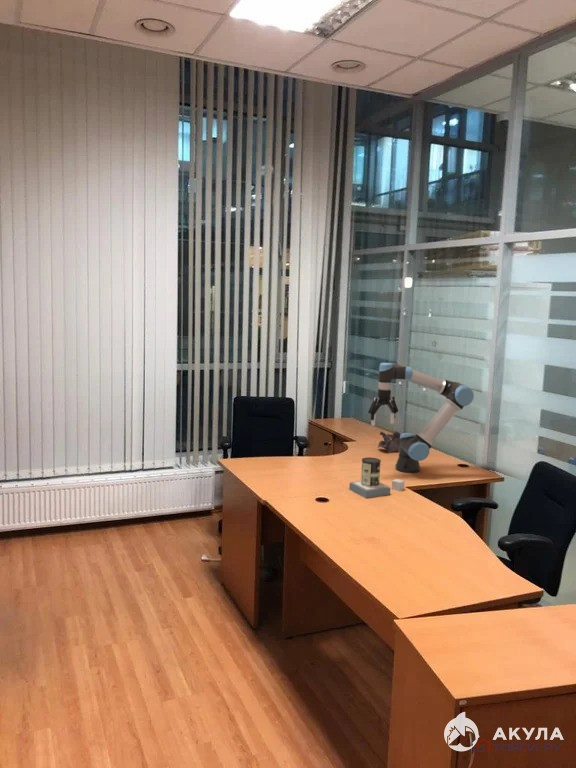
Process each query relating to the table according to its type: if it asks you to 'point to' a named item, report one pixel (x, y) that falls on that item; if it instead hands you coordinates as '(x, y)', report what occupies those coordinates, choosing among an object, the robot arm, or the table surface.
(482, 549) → the table surface
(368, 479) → the coffee can
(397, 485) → the block
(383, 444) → the dark grey lumpy piece
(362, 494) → the plinth
